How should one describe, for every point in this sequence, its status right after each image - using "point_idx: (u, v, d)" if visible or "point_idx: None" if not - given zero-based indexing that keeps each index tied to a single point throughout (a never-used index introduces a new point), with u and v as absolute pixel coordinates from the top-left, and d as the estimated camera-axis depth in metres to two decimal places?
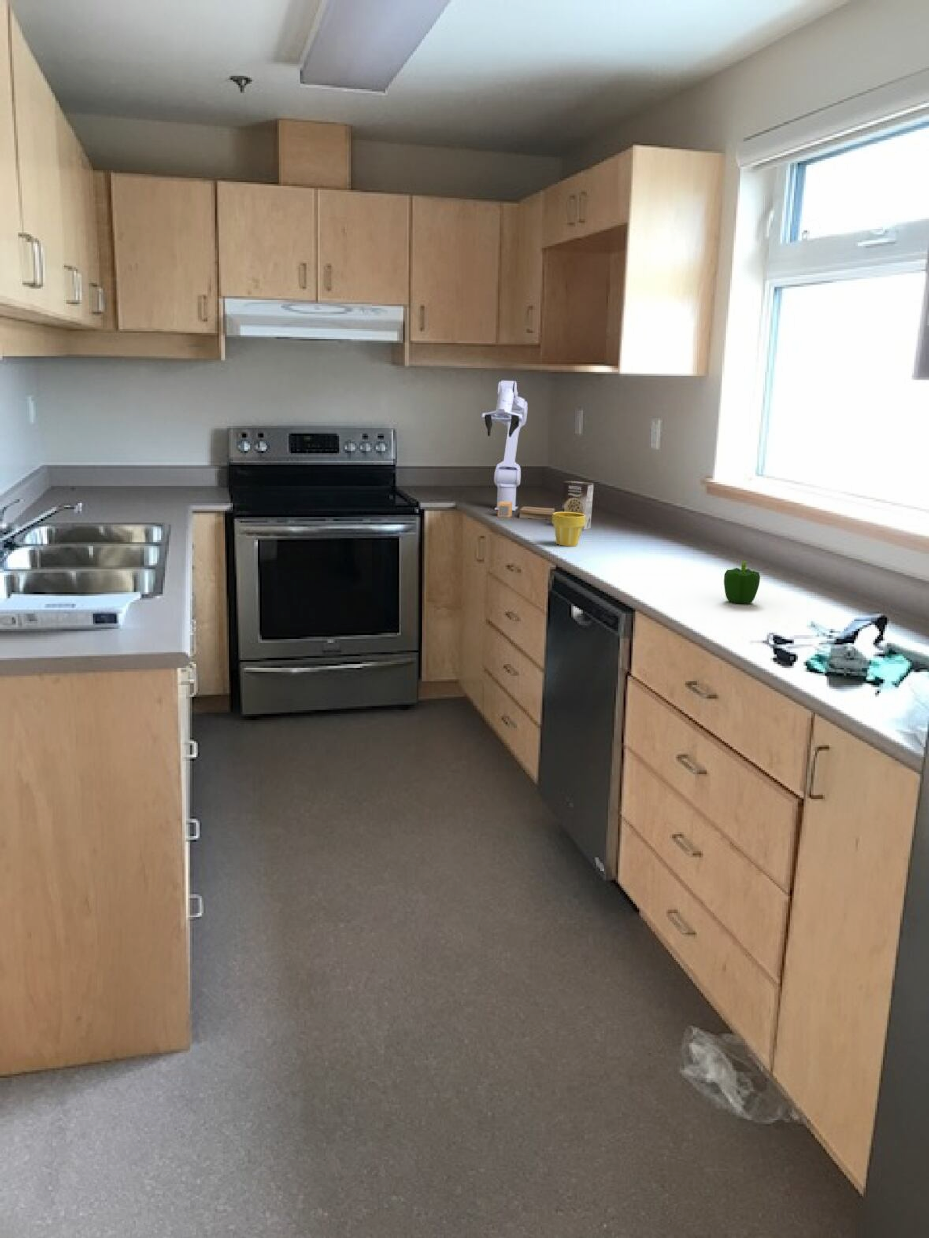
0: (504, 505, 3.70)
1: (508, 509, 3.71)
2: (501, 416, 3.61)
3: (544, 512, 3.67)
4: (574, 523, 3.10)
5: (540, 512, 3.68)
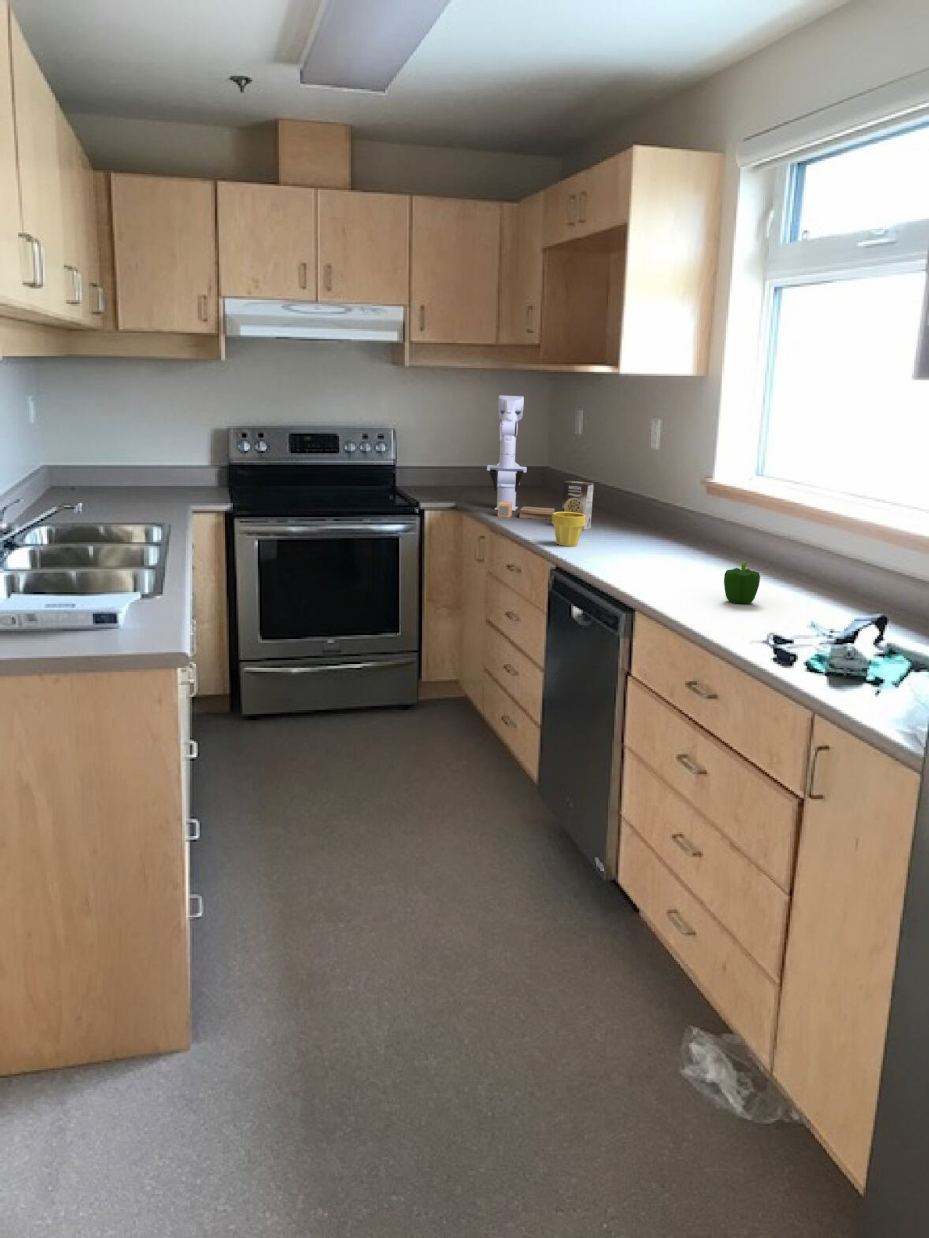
0: (504, 505, 3.70)
1: (508, 509, 3.71)
2: None
3: (544, 512, 3.67)
4: (574, 523, 3.10)
5: (540, 512, 3.68)
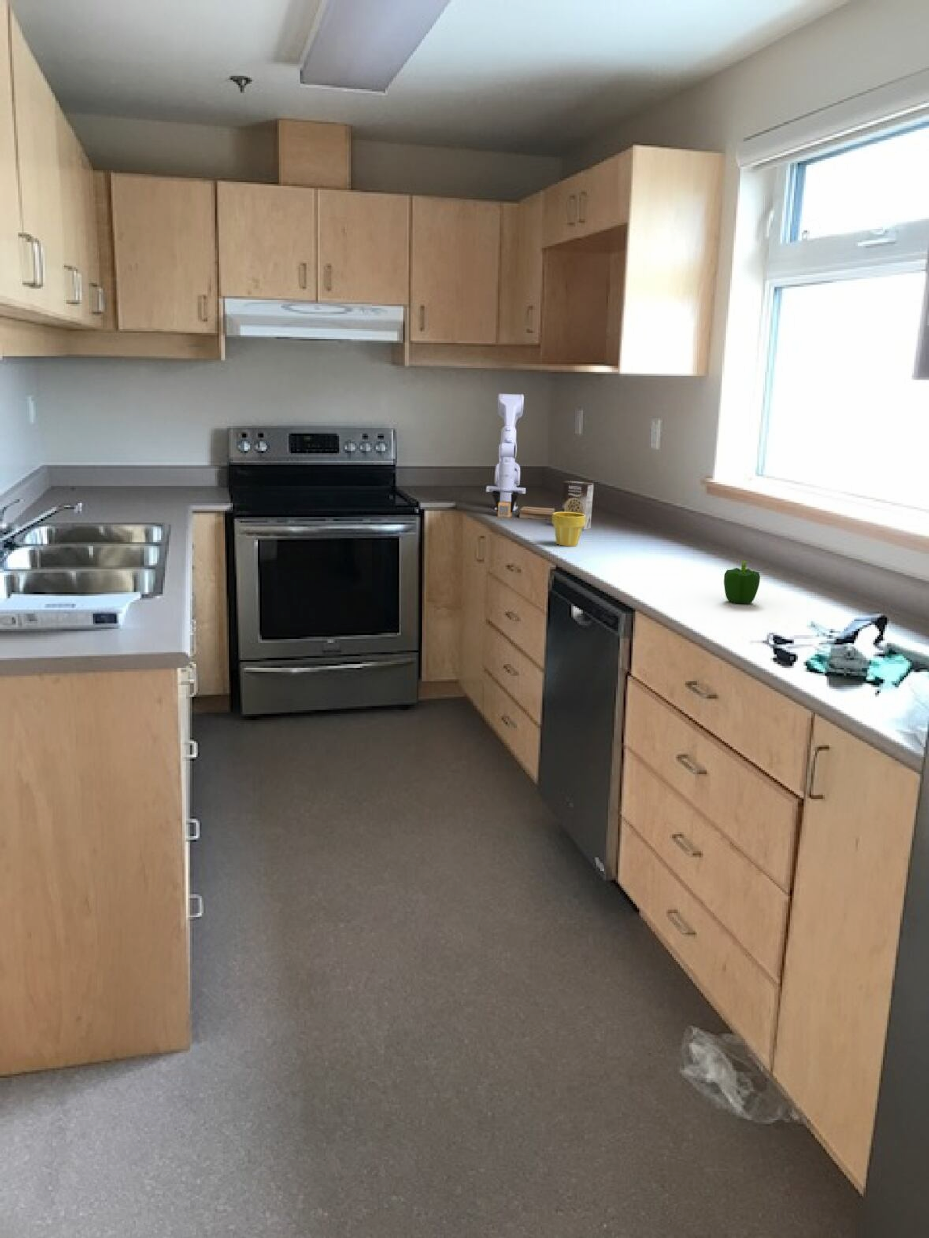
0: (504, 505, 3.70)
1: (508, 509, 3.70)
2: None
3: (544, 512, 3.67)
4: (574, 523, 3.10)
5: (540, 512, 3.68)
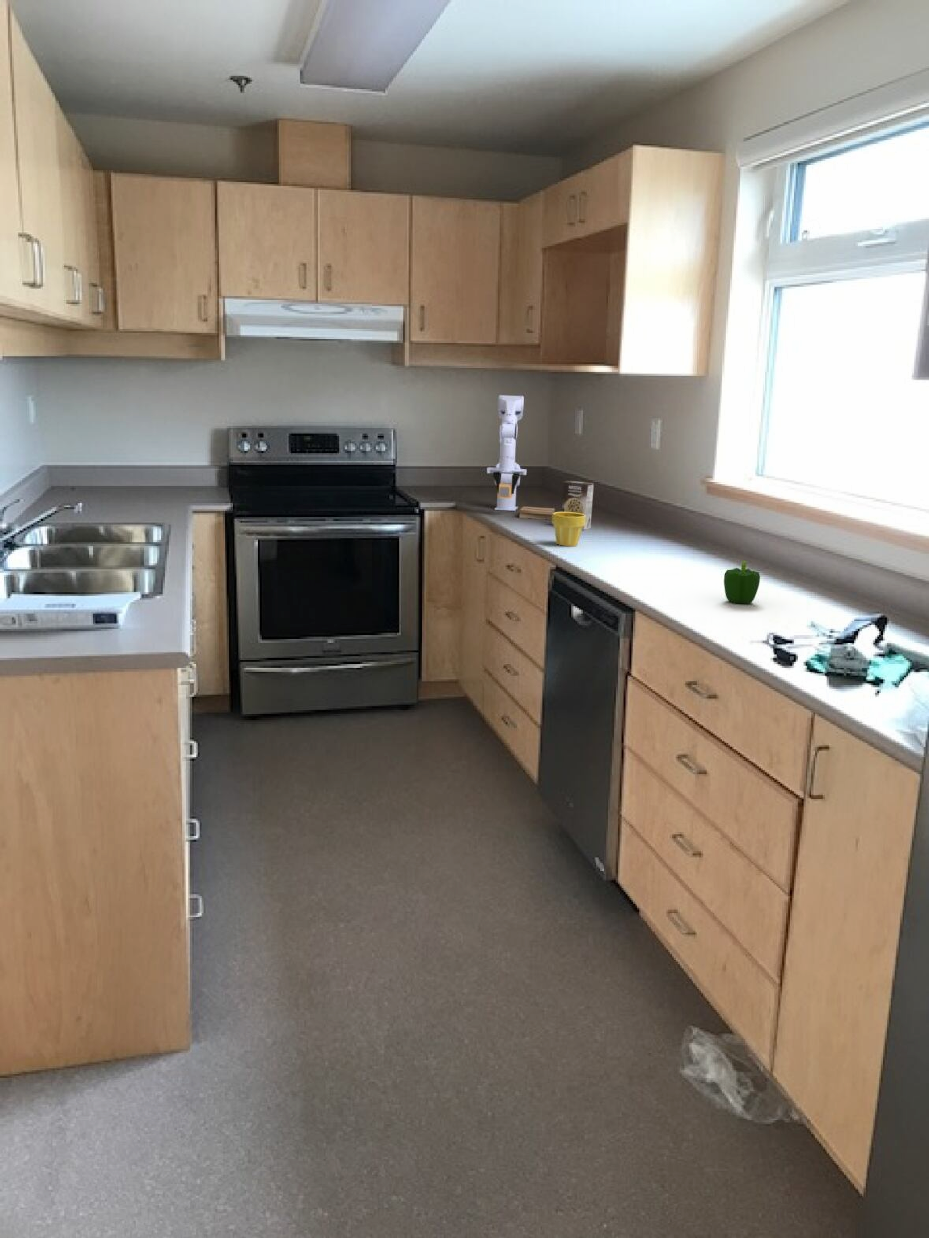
0: (505, 486, 3.69)
1: (509, 490, 3.69)
2: None
3: (544, 512, 3.67)
4: (574, 523, 3.10)
5: (540, 512, 3.68)
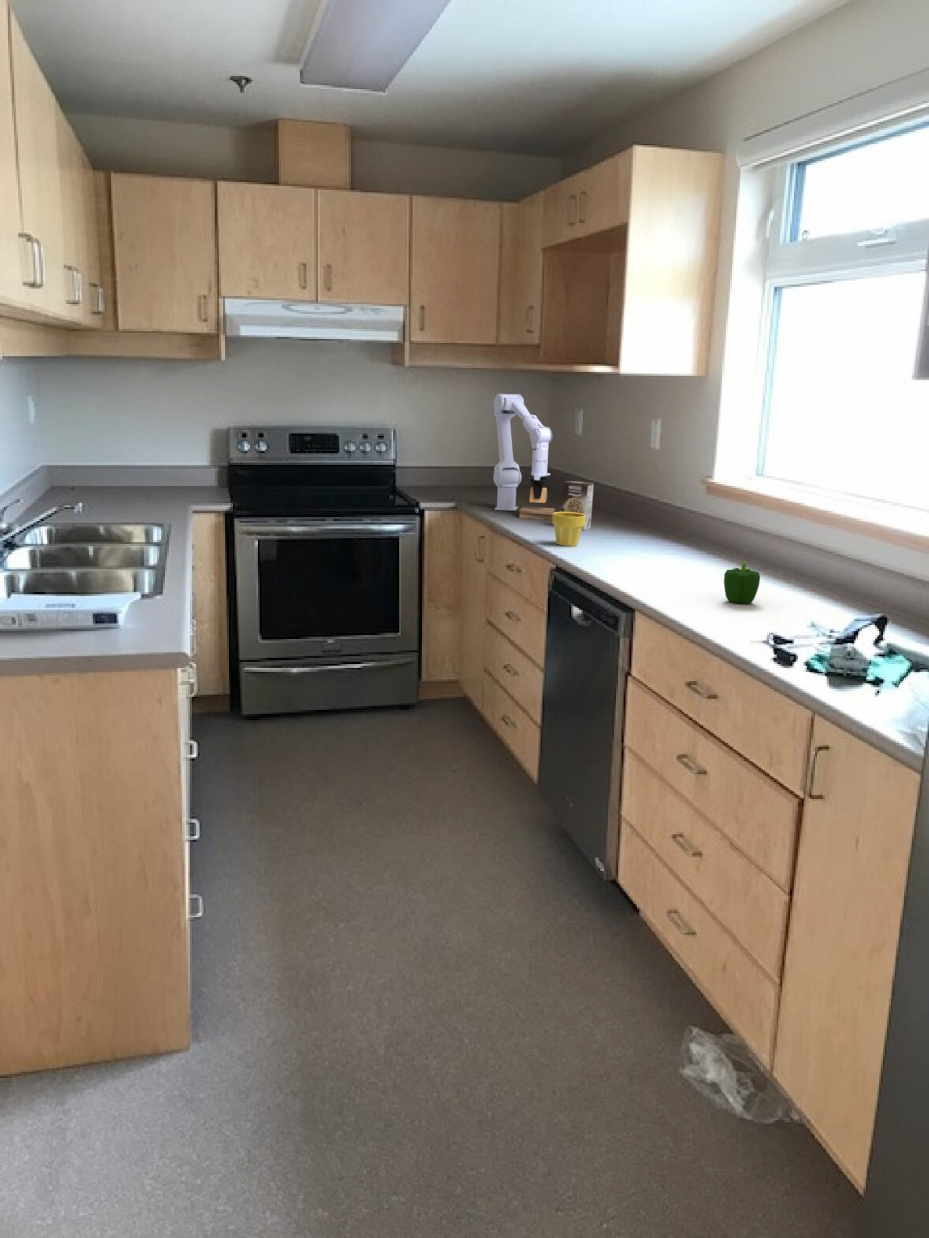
0: (546, 490, 3.70)
1: None
2: None
3: (544, 512, 3.67)
4: (574, 523, 3.10)
5: (540, 512, 3.68)
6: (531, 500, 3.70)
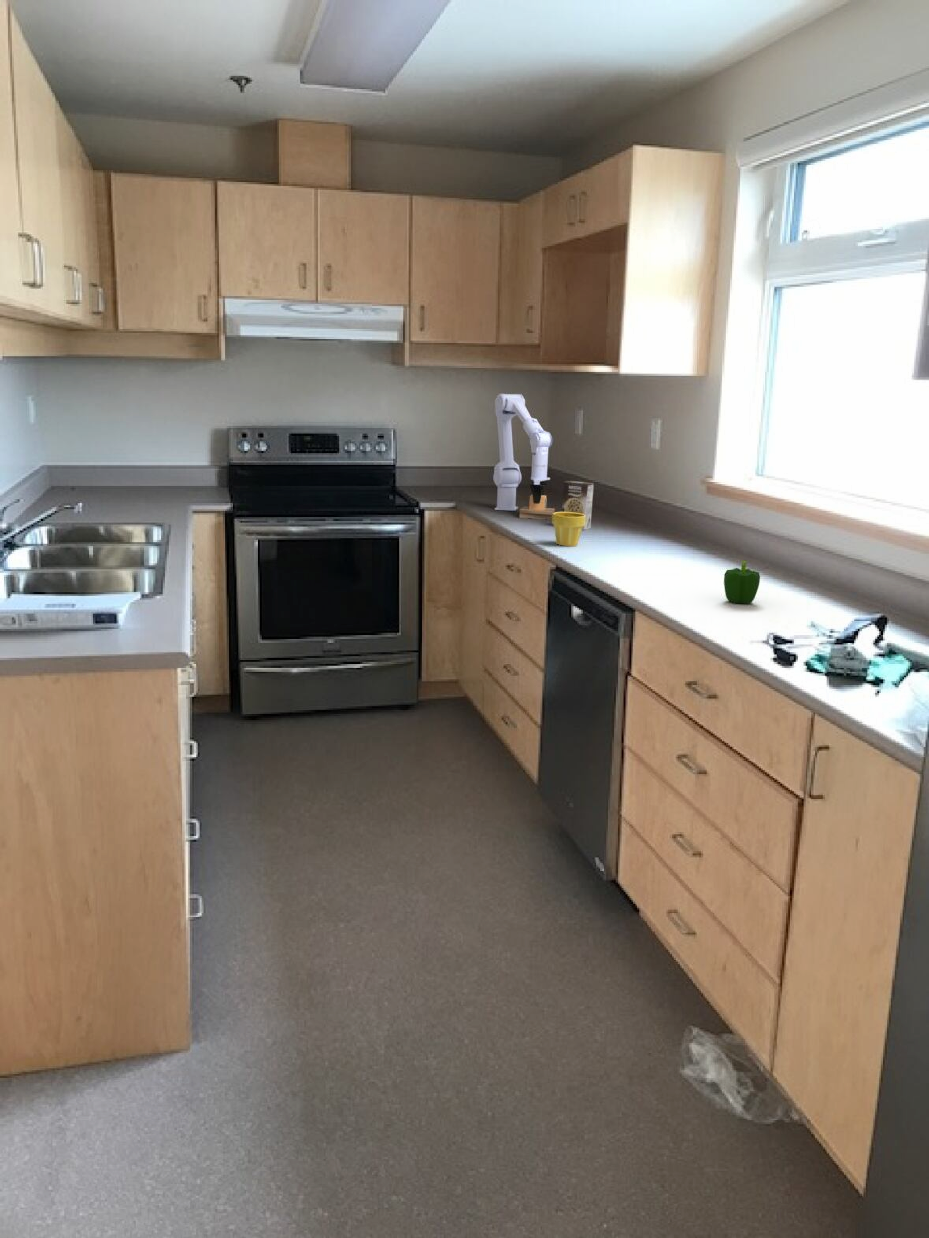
0: (545, 498, 3.71)
1: None
2: None
3: (544, 512, 3.67)
4: (574, 523, 3.10)
5: (540, 512, 3.68)
6: (531, 508, 3.71)
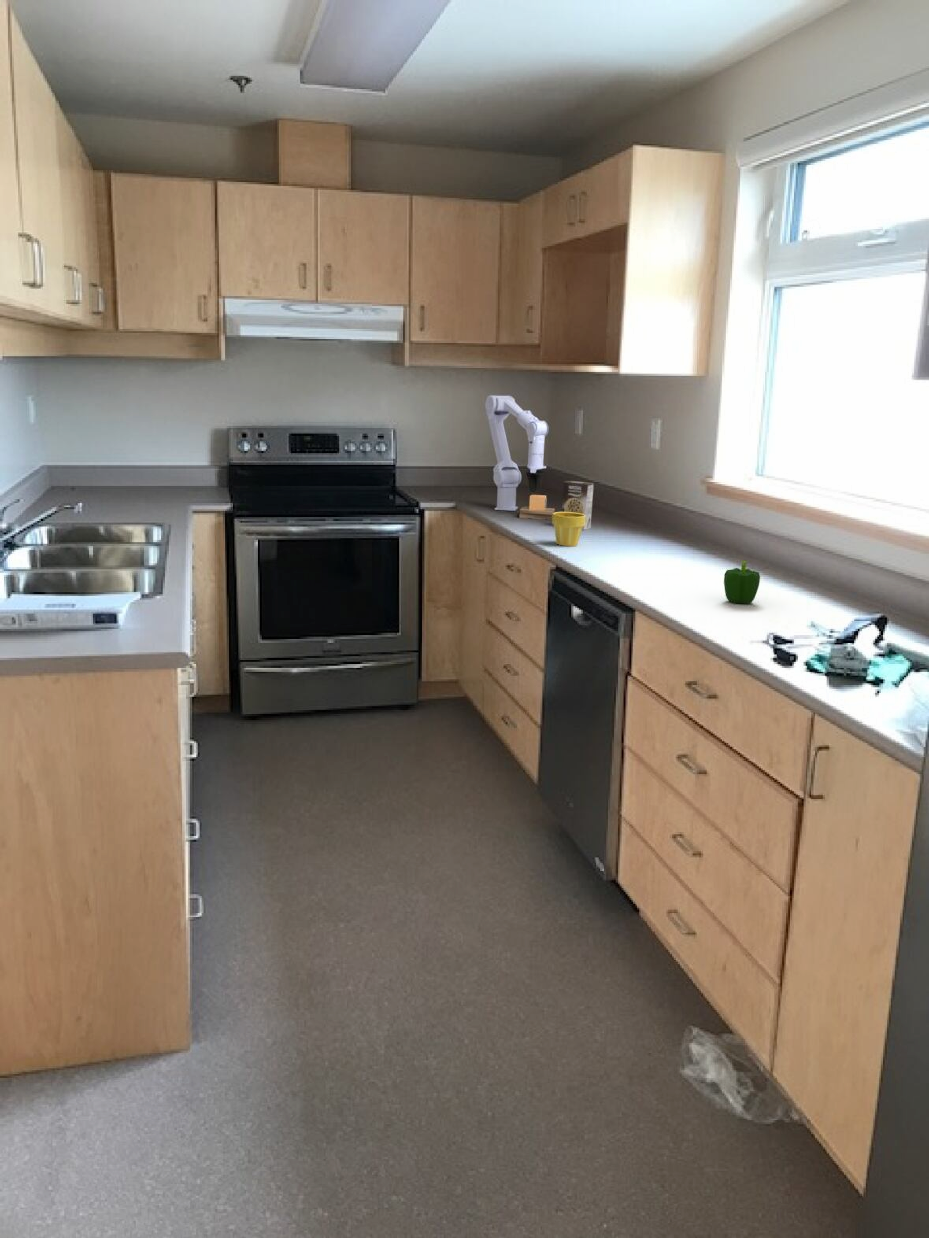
0: (545, 498, 3.71)
1: None
2: None
3: (544, 512, 3.67)
4: (574, 523, 3.10)
5: (540, 512, 3.68)
6: (531, 508, 3.71)
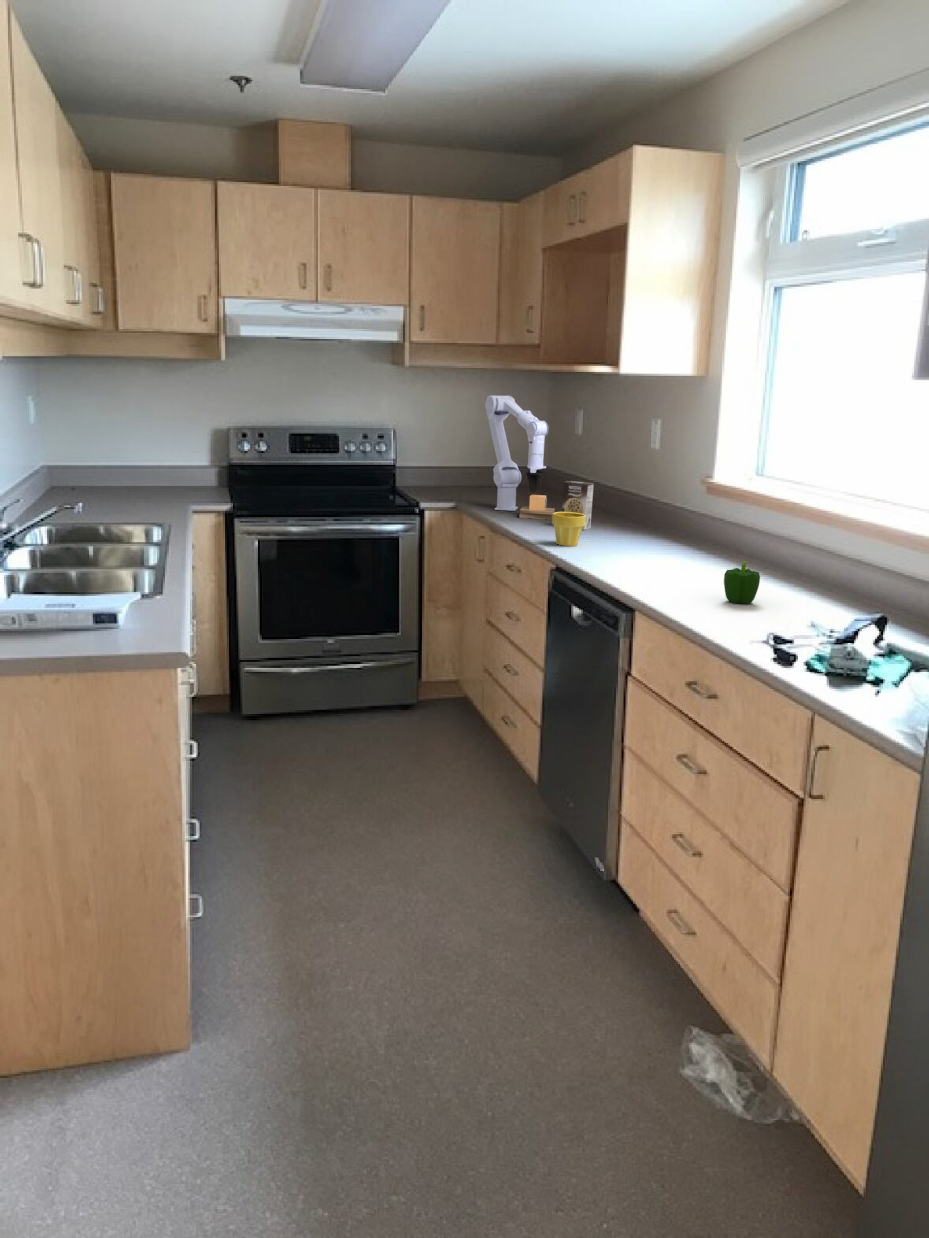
0: (545, 498, 3.71)
1: None
2: None
3: (544, 512, 3.67)
4: (574, 523, 3.10)
5: (540, 512, 3.68)
6: (531, 508, 3.71)
